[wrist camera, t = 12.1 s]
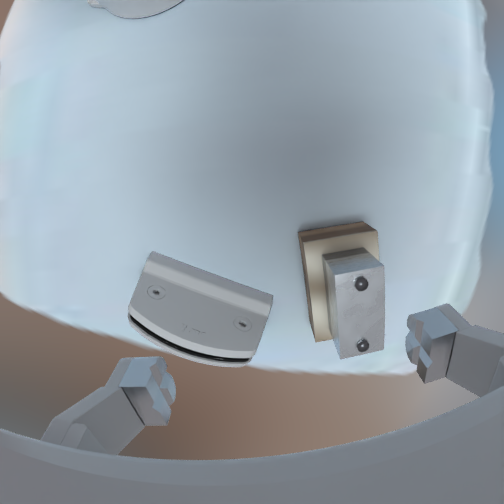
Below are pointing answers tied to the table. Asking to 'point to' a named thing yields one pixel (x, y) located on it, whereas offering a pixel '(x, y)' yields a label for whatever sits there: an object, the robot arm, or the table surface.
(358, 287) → the block
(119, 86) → the table surface
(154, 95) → the table surface
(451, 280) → the table surface
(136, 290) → the hinge
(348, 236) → the stand
